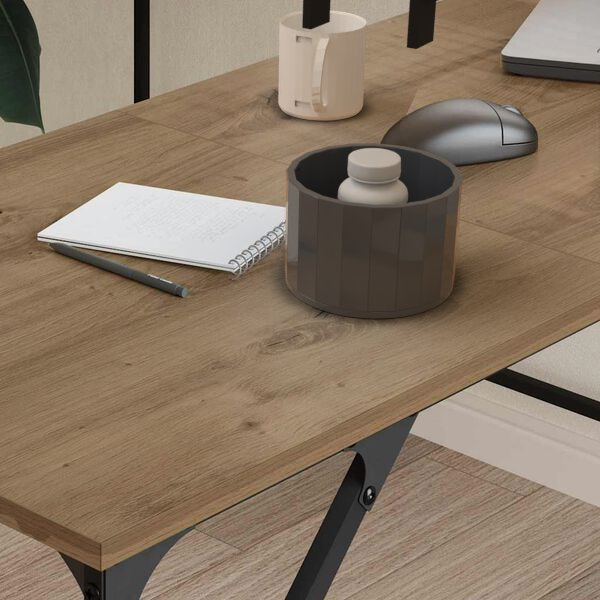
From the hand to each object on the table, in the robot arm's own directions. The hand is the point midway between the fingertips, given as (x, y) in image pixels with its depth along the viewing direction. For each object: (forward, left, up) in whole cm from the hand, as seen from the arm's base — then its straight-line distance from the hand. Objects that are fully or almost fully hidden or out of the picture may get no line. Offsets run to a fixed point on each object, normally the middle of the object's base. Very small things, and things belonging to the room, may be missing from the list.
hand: (367, 34), depth 96 cm
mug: (+34, +23, -20) cm, 45 cm away
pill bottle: (+1, -1, -19) cm, 19 cm away
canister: (+1, -1, -20) cm, 20 cm away
